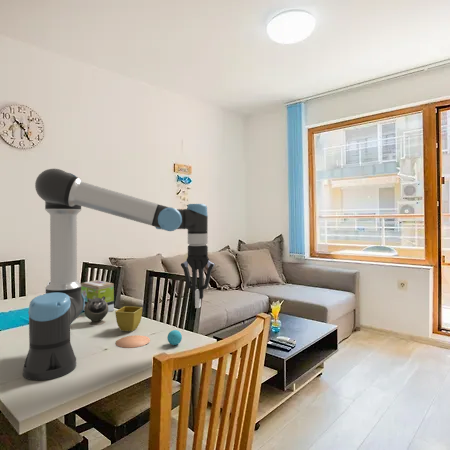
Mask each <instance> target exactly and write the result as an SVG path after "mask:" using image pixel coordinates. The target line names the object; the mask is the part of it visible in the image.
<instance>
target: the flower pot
mask: <svg viewBox="0 0 450 450" xmlns="http://www.w3.org/2000/svg"><path fill="white" fill-rule="evenodd" d="M114 311H115V310H114ZM142 316H143V307H142V306H122V307H120V309H117V310H116V311H115V319H116V320H115V321H116V324H117V326H118V328H119V329H120V331H122V332H133V331H135V330H136V329H137V328H138V326H140V323H141V321H142Z"/></svg>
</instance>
